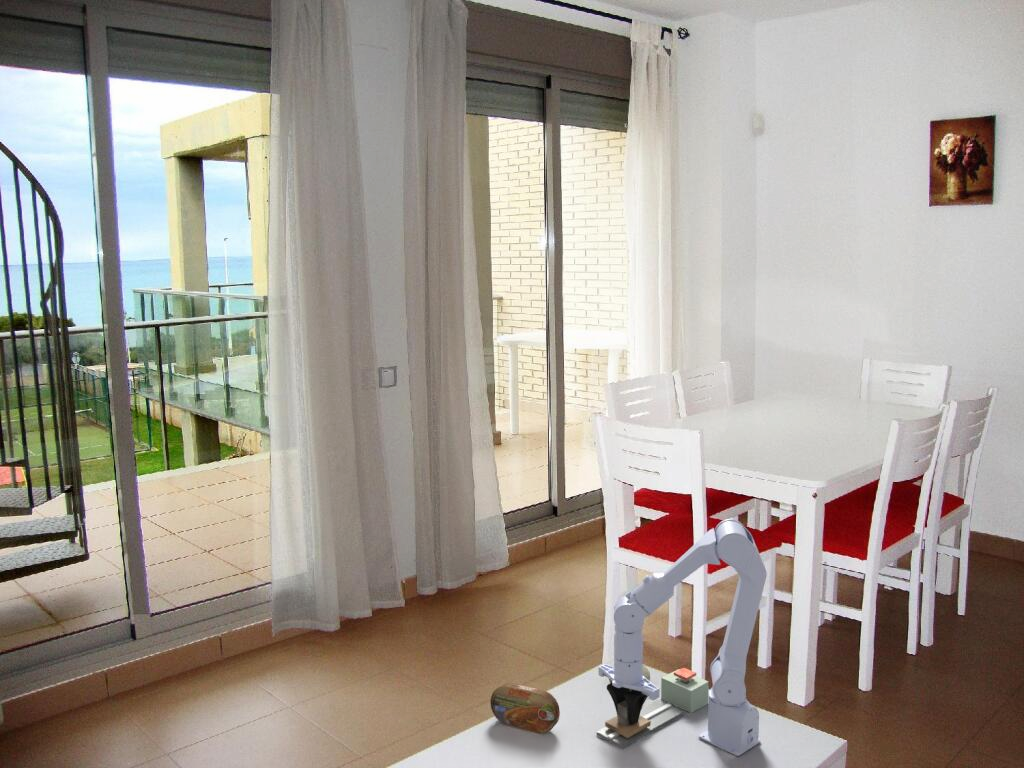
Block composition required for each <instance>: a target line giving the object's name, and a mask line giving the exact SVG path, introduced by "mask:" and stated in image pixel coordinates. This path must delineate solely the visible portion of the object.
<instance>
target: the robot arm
mask: <svg viewBox="0 0 1024 768" xmlns="http://www.w3.org/2000/svg"><path fill="white" fill-rule="evenodd" d="M721 560H722V561H723V562H724V563H725V564H727V565H728V566H730V567H732V568H733V569H734V570H735V572H736V573H737V574H738V575H739V577H738V580H737V585H736V589H735V593H734V596H733V601H732V604H731V605H732V606H731V609H730V614H729V618H728V622H727V624H726V625H727V626H726V630H725V633H724V638H723V643H722V645H721V646H720V648H719V650H718V654H717V656H716V657H715V658H714V659H713V661H712V662H711V664H710V668H709V672H710V676H711V680H712V681H711V682H712V687H711V688H710V689H709V690H708V704H707V707H708V708H707V709H708V710H707V713H708V714H707V715H708V716H707V730H704V731H703V732H701V733H699V734H698V738H699V739H700V740H702V741H705V742H707V743H709V744H711V745H713V746H716V747H718V748H719V749H721V750H723V751H725V752H727V753H729V754H732V755H733V756H736V757H740V756H741V755H743V754H744V753H745V752H747V751H749V750H750V749H752V748H753V747H755V746H756V745H758V744H759V743H761V739H760V737H759V731H760V730H759V728H760V727H759V725H760V713H759V710H758V708H757V707H756V706H754V705H753V704H751V703H750V702H749V701H748V700H747V694H746V693H747V688H746V687H747V686H746V684H745V676H746V673H747V672H746V671H747V656H748V653H749V648H750V644H751V639H752V637H753V633H754V628H755V624H756V620H757V616H758V612H759V608H760V605H761V600H762V595H763V592H764V588H765V584H766V579H767V574H768V572H767V569H766V566H765V564H764V561H763V559H762V557H761V555H760V552H759V549H758V547H757V545H756V543H755V539H754V537H753V535H752V534H751V532H750V531H749V530H748V529H747V528H746V526H744V524H743V523H741V522H740V521H739V520H737V519H734V518H733V519H732V518H727V519H724V520H722V521H720V522H719V523H718V524H717V525H716V527H715V528H714V527H712V528H711V529H709V530H708V531H706V533H705V534H704V535H703V536H702V537H700V539H699V540H697V542H696V543H694V544H693V545H692V546H691V547H690V548H689V549H688V550H687V551H685V553H684V554H682V555H681V556H680V557H679V558H678V559H677V560H676V561H674V563H673V564H672V565H670V566H669V567H668V568H667V569H666V570H665V571H664V572H653V573H652V574H651V575H649V574H646V575H645V576H643V577H642V582H641V583H640V584H639V585H637V587H635V588H634V589H633V590H632V591H630V590H628V591H627V592H625V595H623V596H620V597H619V598H618V599H617V600H616V602H615V605H614V608H613V611H614V612H613V613H614V614H613V622H614V631H615V632H614V635H613V636H614V637H613V665H614V666H613V665H609V664H606V663H604V664H601V665H598V676H600V677H601V678H602V677H606V678H608V679H609V678H610V679H611V682H609V683H608V684H607V685H606V691H607V692H608V694H609V696H610V697H611V700H612V701H613V705H614V708H615V711H616V716H618V703H620V702H622V701H624V700H626V702H627V706H628V720H629V724H631V725H633V724H635V723H637V722H638V720H639V716H640V712H641V709H642V707H644V704H645V702H646V700H647V699H649V700H651V701H656V700H658V699H659V698H660V695H661V693H660V692H661V690H660V689H661V688H659V687H658V686H656V685H654V684H653V683H652V682H651V680H650V681H648V680H647V679H646V678H645V677H644V676H643V665H644V663H643V662H644V659H643V658H644V657H643V656H644V654H643V653H644V646H643V645H644V636H643V632H642V628H643V626H644V623H645V618H647V617H649V616H651V615H653V613H654V612H656V611H657V610H659V608H660V607H661V606H663V605H665V603H667V602H668V601H669V600H670V599H671V598H673V596H674V595H675V594H674V593H675V592H674V591H675V587H676V586H677V585H679V583H681V582H682V581H684V580H686V578H688V577H689V576H690V575H692V574H693V573H694V572H696V571H697V570H698V569H700V568H701V567H703V566H704V565H706V564H707V565H715V566H716V565H717V566H721ZM630 689H631V691H630Z"/></svg>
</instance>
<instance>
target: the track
mask: <svg viewBox="0 0 1024 768" xmlns="http://www.w3.org/2000/svg"><path fill="white" fill-rule="evenodd" d="M640 716H642V717H644V718H646V719H648V720H650V721H651V726H649V727H647V728H645V729H643V730H642V731H640V732H638V733H636V734H634V735H632V736H631V737H629V738H626V737H624V736H623V735H621V734H619V733H617V732H615V731H613V730H611V729H609V728H607V727H605V726H604V727H603V728H600V729H598V730H597V731H596V737H599V738H600V739H602V738H603V739H602V740H604V739H605V740H604V741H606V740H607V741H606V742H608V743H610V744H612V745H614V746H615V747H617V746H618V748H619V747H620V748H619V749H621V748H622V749H621V750H624V749H626V748H627V747H630V746H631V745H633V744H636V743H637V742H638V741H640V740H642V739H644V738H645V737H647V736H649V735H650V734H652V733H654V732H656V731H658V730H660V729H662V728H664V727H665V726H667V725H669V724H670V723H672V722H675V720H677V719H680V718H681V717H683V716H684V711H683V710H680V709H678V708H675V707H673V705H672V704H670V703H668V702H667V703H665V702H662V701H660V700H658V699H655V700H653V701H652V702H650V703H648V704H646V705H645V706H644V705H643V706H642V709H641V712H640Z"/></svg>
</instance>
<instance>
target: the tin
mask: <svg viewBox="0 0 1024 768" xmlns="http://www.w3.org/2000/svg"><path fill="white" fill-rule="evenodd" d="M490 709H491V711H492V714H493V716H494V717H495V718H496V719H497V720H498V722H500V723H501V724H503V725H504V726H508V727H512V728H516V729H520V730H524V731H528V732H531V733H536V734H546V733H549V732H550V731H552V729H554V727H555V726H556V725H557V723H559V720H560V717H561V716H560V714H561V712H560V705H559V703H558V701H557V699H556V698H555V697H554V696H553V694H551V693H550V692H549V691H547V690H544V689H540V688H536V687H535V688H534V687H531V686H526V685H522V684H517V683H512V682H507V683H505V684H502V685H501V686H499V687H497V688H496V689H494V691H493V692H492V693H491V695H490Z"/></svg>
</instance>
